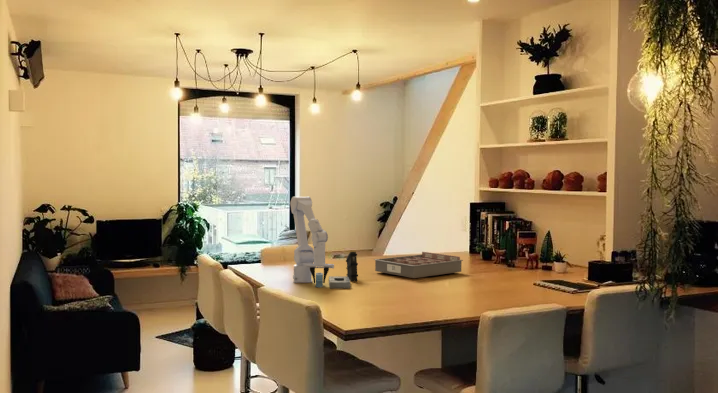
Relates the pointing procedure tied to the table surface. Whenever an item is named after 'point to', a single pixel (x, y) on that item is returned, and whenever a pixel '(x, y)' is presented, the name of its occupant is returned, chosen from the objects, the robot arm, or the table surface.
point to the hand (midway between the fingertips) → (319, 282)
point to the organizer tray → (419, 265)
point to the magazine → (352, 266)
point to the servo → (319, 279)
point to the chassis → (339, 282)
